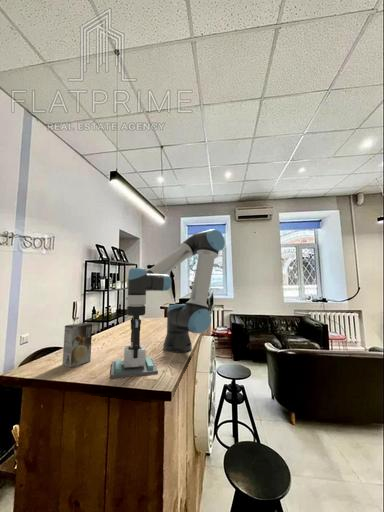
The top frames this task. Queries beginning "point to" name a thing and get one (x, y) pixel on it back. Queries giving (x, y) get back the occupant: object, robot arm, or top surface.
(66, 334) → the coffee box
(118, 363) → the board
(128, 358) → the collar
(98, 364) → the top surface
